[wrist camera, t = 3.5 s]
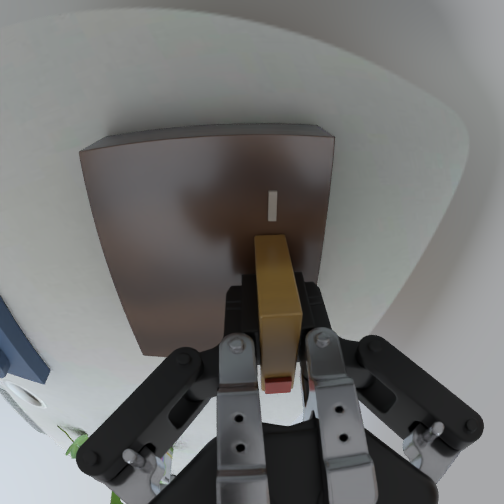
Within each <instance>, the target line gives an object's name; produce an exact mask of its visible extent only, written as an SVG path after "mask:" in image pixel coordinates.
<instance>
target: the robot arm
mask: <svg viewBox="0 0 504 504" xmlns="http://www.w3.org/2000/svg"><path fill="white" fill-rule="evenodd" d="M294 276H295V280H296V285H297V290H298V294H299V299H300V303H301V308H302V313H303V315H302V324H301V332H300V340H299V348H298V356H297V362H300V367H301V371H300V381H301V391H302V401H303V422H301V423H298V424H295V425H292V426H282V425H275V424H269V423H263V422H262V419H261V409H260V398H259V388H258V380H257V375H258V372H257V365H260V337H259V317H258V300H257V283H256V274H243V275H242V285H238V286H231V287H230V288H229V290H228V291H227V293H226V303H225V321H224V336H223V339H222V340H221V342H220V343H219V344H218V345H217V346H215V347H214V348H212V349H209V350H206V351H202V352H198V351H197V350H196V349H194V348H191V347H181V348H178V349H176V350H174V351H173V352H172V353H171V354H170V355H169V356H168V357H167V358H166V359H165V360H164V361H163V362H162V363H161V364H160V365H159V366H158V367H157V368H156V369H155V370H154V371H153V372H152V373H151V374H150V375H149V377H148V378H147V379H146V380H145V381H144V382H143V383H142V384H141V385H140V386H139V387H138V388H137V389H136V390H135V391H134V392H133V393H132V394H131V395H130V396H129V397H128V398H127V399H126V400H125V401H124V402H123V403H122V404H121V405H120V406H119V408H118V409H117V410H116V411H115V412H114V413H113V414H112V415H111V416H110V417H109V418H108V419H107V420H106V421H105V422H104V423H103V424H102V425H101V426H100V427H99V428H98V429H97V430H96V431H95V432H94V433H93V434H92V435H91V436H90V437H89V438H88V439H87V440H86V441H85V442H84V443H83V444H82V445H81V446H80V447H79V449H78V451H77V453H76V462H77V465H78V467H79V468H80V470H81V471H82V472H84V473H85V474H87V475H89V476H91V477H93V478H94V479H95V480H97V481H99V482H101V483H103V484H105V485H106V486H107V487H108V488H109V489H111V490H112V491H113V492H114V493H115V494H116V495H117V496H118V497H119V498H121V499H122V500H123V501H124V502H125V503H126V504H438V489H437V486H436V484H437V482H438V481H439V480H440V479H441V478H442V476H443V475H444V474H445V472H446V471H447V470H448V468H449V467H450V466H451V464H452V463H453V462H454V460H455V458H456V457H457V456H458V454H459V453H460V452H461V451H462V450H464V449H465V448H466V447H468V446H469V445H471V444H472V443H474V442H475V441H476V440H477V439H479V438H480V436H481V435H482V433H483V429H484V423H483V420H482V418H481V416H480V415H479V414H478V413H477V412H475V411H474V410H473V409H472V408H470V407H469V406H468V405H466V404H465V403H464V402H463V401H462V400H460V399H459V398H458V397H457V396H456V395H454V394H453V393H452V392H450V391H449V390H448V389H447V388H446V387H444V386H443V385H442V384H440V383H439V382H438V381H437V380H436V379H434V378H433V377H432V376H431V375H429V374H428V373H427V372H426V371H424V370H423V369H422V368H420V367H419V366H418V365H416V364H415V363H414V362H413V361H411V360H410V359H409V358H408V357H407V356H405V355H404V354H403V353H402V352H400V351H399V350H398V349H396V348H395V347H394V346H393V345H391V344H390V343H389V342H388V341H386V340H385V339H384V338H382V337H380V336H377V335H368V336H365V337H363V338H362V339H361V340H360V342H357V341H350V340H345V339H342V338H340V337H339V336H338V335H337V334H336V333H335V332H334V331H333V330H332V328H331V325H330V322H329V318H328V315H327V312H326V308H325V305H324V301H323V298H322V295H321V292H320V288H319V287H318V286H317V285H316V284H315V283H314V282H313V281H311V282H305V281H304V278H303V274H302V271H300V272H294ZM215 396H217V436H216V437H215V438H213V439H212V440H211V441H210V442H208V443H207V444H206V445H205V447H204V448H203V449H202V450H201V451H200V452H199V453H198V454H197V455H196V456H195V457H194V458H193V459H192V460H191V462H190V463H189V464H188V465H187V466H186V467H185V468H184V469H183V470H182V471H181V472H180V473H179V474H178V475H177V476H176V477H175V478H174V479H173V480H172V481H171V482H170V483H169V484H168V485H167V486H166V487H165V488H164V489H163V490H162V491H160V488H159V485H160V481H161V479H162V477H163V476H164V473H165V466H164V463H163V461H162V460H161V458H162V457H163V456H164V455H165V454H166V452H167V451H168V450H169V449H170V448H171V447H172V445H173V444H174V443H175V442H176V441H177V440H178V438H179V437H180V436H181V435H182V434H183V432H184V431H185V430H186V429H187V428H188V426H189V425H190V424H191V423H192V422H193V420H194V419H195V418H196V417H197V415H198V414H199V413H200V412H201V410H202V409H203V408H204V407H205V405H206V404H207V403H208V402H209V400H210V399H211V397H215ZM358 400H359V401H361V402H362V403H363V404H364V405H365V406H366V407H367V408H368V409H369V410H371V412H373V413H374V414H375V415H376V416H377V417H378V418H379V419H380V420H381V421H383V422H384V423H385V424H386V425H387V426H388V427H389V428H390V429H392V430H393V431H394V432H395V433H396V434H397V435H398V436H399V437H401V438H402V439H403V440H404V441H403V451H404V454H405V455H406V456H407V457H408V458H409V460H410V462H409V461H407V460H406V459H404V458H403V457H402V456H400V455H399V454H398V453H396V452H395V451H394V450H393V449H391V448H390V447H389V446H387V445H386V444H385V443H383V442H382V441H381V440H380V439H378V438H377V437H376V436H374V435H373V434H372V433H371V432H369V431H368V430H367V429H365V428H364V426H363V420H362V416H361V411H360V406H359V401H358Z"/></svg>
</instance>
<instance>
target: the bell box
mask: <svg viewBox="0 0 504 504" xmlns="http://www.w3.org/2000/svg"><path fill="white" fill-rule="evenodd" d="M7 373H10V374H13V375H16V376H19V377H22V378H25V379H28V380H31V381H34V382H38V383H41V384H45V382H46V380H47V377H48V375H49V373H50V369H49V368H48V367H47V365H46V364H45V363H44V362H43V360H42V359H41V358H40V356H39V355H38V354H37V352H36V351H35V350H34V348H33V347H32V345H31V344H30V343H29V341H28V340H27V338H26V337H25V335H24V334H23V332H22V331H21V329H20V328H19V326H18V325H17V323H16V322H15V320H14V318H13V317H12V315H11V313H10V312H9V310H8V308H7V307H6V305H5V303H4V302H3V300H2V298H1V296H0V378H4V377H5V376H6V374H7Z"/></svg>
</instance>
